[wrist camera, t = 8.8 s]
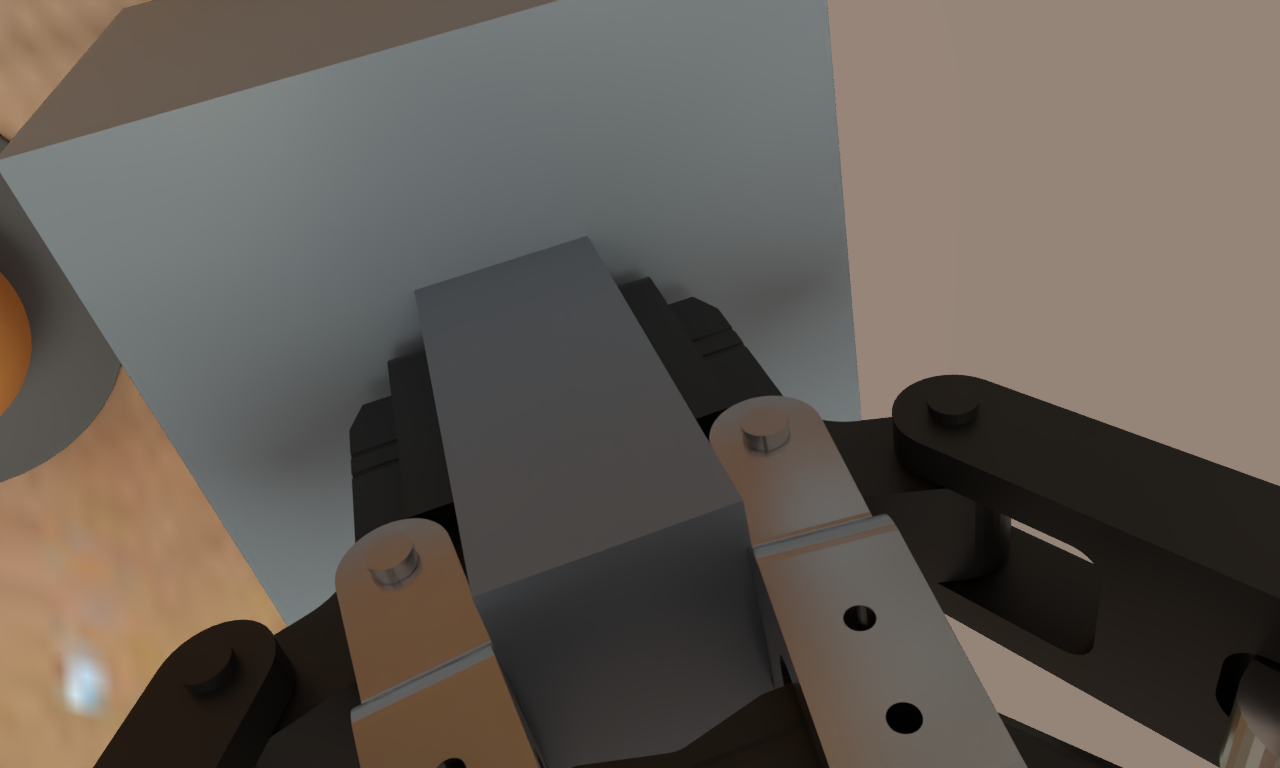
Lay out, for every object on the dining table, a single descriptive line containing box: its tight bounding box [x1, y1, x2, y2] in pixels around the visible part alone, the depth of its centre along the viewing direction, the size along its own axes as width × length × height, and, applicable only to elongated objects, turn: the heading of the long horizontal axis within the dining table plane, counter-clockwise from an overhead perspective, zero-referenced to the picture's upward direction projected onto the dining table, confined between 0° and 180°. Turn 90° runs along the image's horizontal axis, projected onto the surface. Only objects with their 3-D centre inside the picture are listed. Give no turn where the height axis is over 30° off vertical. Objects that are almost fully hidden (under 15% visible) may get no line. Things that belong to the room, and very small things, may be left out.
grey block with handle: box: [0, 0, 861, 768], centre depth 15 cm, size 10×10×15 cm
